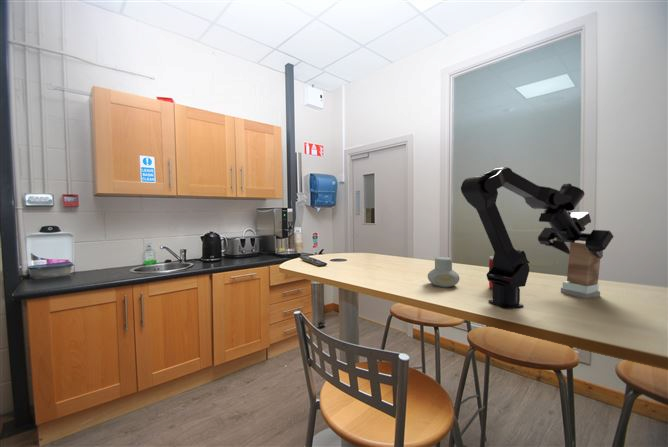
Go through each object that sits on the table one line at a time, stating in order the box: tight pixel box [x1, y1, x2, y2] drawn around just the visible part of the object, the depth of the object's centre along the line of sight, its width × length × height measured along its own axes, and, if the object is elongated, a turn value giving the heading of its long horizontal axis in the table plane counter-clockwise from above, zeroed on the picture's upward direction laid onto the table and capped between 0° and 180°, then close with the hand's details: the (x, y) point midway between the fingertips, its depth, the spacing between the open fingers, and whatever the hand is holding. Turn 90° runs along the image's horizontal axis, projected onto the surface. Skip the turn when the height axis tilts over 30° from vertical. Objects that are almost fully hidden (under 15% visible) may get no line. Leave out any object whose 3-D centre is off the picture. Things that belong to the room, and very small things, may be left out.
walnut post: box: [566, 240, 601, 286], centre depth 92 cm, size 6×6×13 cm
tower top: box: [562, 280, 600, 294], centre depth 93 cm, size 7×7×2 cm
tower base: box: [560, 287, 601, 299], centre depth 93 cm, size 7×7×2 cm
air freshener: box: [427, 256, 460, 288], centre depth 106 cm, size 11×8×10 cm
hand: (584, 255), depth 93 cm, fingers open, 9 cm apart
